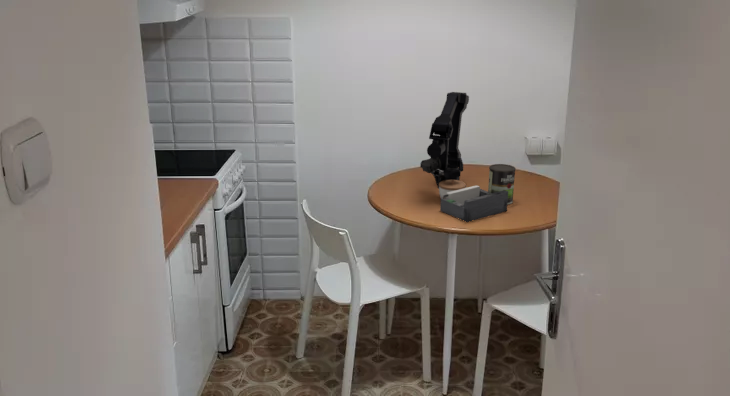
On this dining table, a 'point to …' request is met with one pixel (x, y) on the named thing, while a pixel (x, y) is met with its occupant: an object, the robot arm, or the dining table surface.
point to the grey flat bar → (463, 194)
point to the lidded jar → (450, 186)
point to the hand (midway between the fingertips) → (439, 188)
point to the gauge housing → (476, 206)
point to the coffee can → (502, 179)
